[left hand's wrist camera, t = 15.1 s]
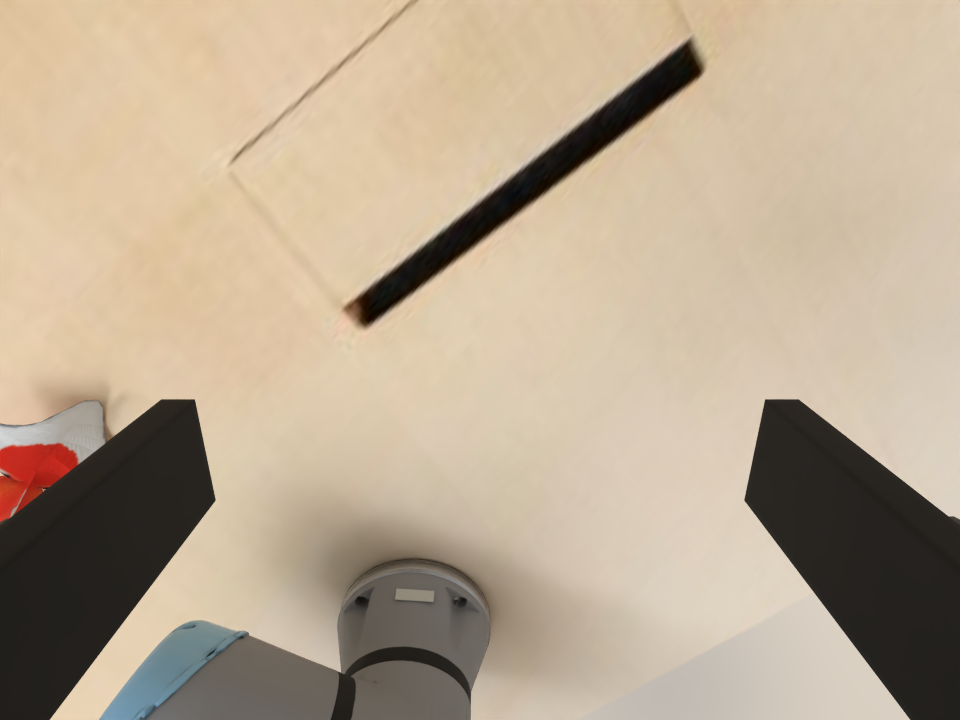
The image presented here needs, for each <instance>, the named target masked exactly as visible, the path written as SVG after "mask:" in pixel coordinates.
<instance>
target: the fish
mask: <svg viewBox="0 0 960 720" xmlns="http://www.w3.org/2000/svg"><path fill="white" fill-rule="evenodd" d="M106 442H107V441H106V435H105V430H104V412H103V407H102V404H101V403H100V402H99V400H86V401H83V402H81V403H79V404H76V405H74V406H72V407H70V408H68V409H66V410H64V411H62V412H60V413H58V414H56V415H54V416H52V417H50V418H48V419H46V420H44V421H42V422H40V423H34V424H28V425H5V424H0V472H1V473H2V474H3V475H5V476H0V522H1V521H3V520H5V519H7V518H10V517H12V516H13V515H14V514H15V513H17V512H18V511H19V510H21V509H22V508H23V507H24V506H26V505H27V504H28V503H30V502H31V501H32V500H33V499H35V498H36V497H37V496H38V495H40V494H41V493H42V492H43V490H42V489H47V488H49V487H50V486H51V485H53V484H54V483H55V482H56V481H58V480H59V479H60V478H62V477H63V476H64V475H65V474H67V473H68V472H69V471H71V470H72V469H73V468H74V467H76V466H77V465H78V464H79V463H81V462H82V461H83V460H85V459H86V458H87V457H88V456H90V455H91V454H92V453H94V452H95V451H96V450H97V449H99V448H100V447H101V446H103V445H104V444H105V443H106Z"/></svg>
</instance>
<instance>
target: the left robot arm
mask: <svg viewBox="0 0 960 720" xmlns="http://www.w3.org/2000/svg"><path fill="white" fill-rule="evenodd" d="M214 502H215V495H214V490H213V485H212V481H211V476H210V471H209V466H208V461H207V456H206V452H205V447H204V442H203V437H202V432H201V427H200V422H199V418H198V413H197V408H196V403H195V400H160V401H159V402H158V403H156V404H155V405H154V406H153V407H151V408H150V409H149V410H147V411H146V412H145V413H144V414H142V415H141V416H140V417H138V418H137V419H136V420H135V421H133V422H132V423H131V424H129V425H128V426H127V427H126V428H124V429H123V430H122V431H120V432H119V433H118V434H117V435H115V436H114V437H113V438H112V439H110V440H109V441H108V442H106V443H105V444H104V445H103V446H101V447H100V448H99V449H97V450H96V451H95V452H94V453H92V454H91V455H90V456H88V457H87V458H86V459H85V460H83V461H82V462H81V463H79V464H78V465H77V466H76V467H74V468H73V469H72V470H71V471H69V472H68V473H67V474H65V475H64V476H63V477H62V478H60V479H59V480H58V481H56V482H55V483H54V484H53V485H51V486H50V487H49V488H47V489H46V490H45V491H44V492H42V493H41V494H40V495H38V496H37V497H36V498H35V499H33V500H32V501H31V502H30V503H28V504H27V505H26V506H24V507H23V508H22V509H21V510H19V511H18V512H17V513H15V514H14V515H13V516H12V517H10V518H7V519H5V520H3V521H1V522H0V720H50V719H51V717H52V716H53V715H54V713H55V712H56V711H57V709H58V708H59V707H60V705H61V704H62V703H63V701H64V700H65V699H66V697H67V696H68V695H69V693H70V692H71V691H72V689H73V688H74V687H75V685H76V684H77V683H78V682H79V680H80V679H81V678H82V676H83V675H84V674H85V672H86V671H87V670H88V668H89V667H90V666H91V664H92V663H93V662H94V660H95V659H96V658H97V656H98V655H99V654H100V652H101V651H102V650H103V648H104V647H105V646H106V645H107V643H108V642H109V641H110V639H111V638H112V637H113V635H114V634H115V633H116V631H117V630H118V629H119V627H120V626H121V625H122V623H123V622H124V621H125V619H126V618H127V617H128V615H129V614H130V613H131V611H132V610H133V609H134V608H135V606H136V605H137V604H138V602H139V601H140V600H141V598H142V597H143V596H144V594H145V593H146V592H147V590H148V589H149V588H150V586H151V585H152V584H153V582H154V581H155V580H156V578H157V577H158V576H159V574H160V573H161V572H162V570H163V569H164V568H165V567H166V565H167V564H168V563H169V561H170V560H171V559H172V557H173V556H174V555H175V553H176V552H177V551H178V549H179V548H180V547H181V545H182V544H183V543H184V541H185V540H186V539H187V537H188V536H189V535H190V533H191V532H192V531H193V530H194V528H195V527H196V526H197V524H198V523H199V522H200V520H201V519H202V518H203V516H204V515H205V514H206V512H207V511H208V510H209V508H210V507H211V506H212V504H213V503H214ZM745 502H746V503H747V504H748V506H749V507H750V508H751V510H752V511H753V512H754V514H755V515H756V516H757V518H758V519H759V520H760V522H761V523H762V524H763V526H764V527H765V528H766V530H767V531H768V532H769V533H770V535H771V536H772V537H773V539H774V540H775V541H776V543H777V544H778V545H779V547H780V548H781V549H782V551H783V552H784V553H785V555H786V556H787V557H788V559H789V560H790V561H791V563H792V564H793V565H794V567H795V568H796V569H797V570H798V572H799V573H800V574H801V576H802V577H803V578H804V580H805V581H806V582H807V584H808V585H809V586H810V588H811V589H812V590H813V592H814V593H815V594H816V596H817V597H818V598H819V600H820V601H821V602H822V604H823V605H824V606H825V608H826V609H827V610H828V611H829V613H830V614H831V615H832V617H833V618H834V619H835V621H836V622H837V623H838V625H839V626H840V627H841V629H842V630H843V631H844V632H845V634H846V635H847V637H848V638H849V639H850V641H851V642H852V643H853V644H854V646H855V647H856V648H857V650H858V651H859V652H860V654H861V655H862V656H863V658H864V659H865V660H866V662H867V663H868V664H869V666H870V667H871V668H872V670H873V671H874V672H875V674H876V675H877V676H878V678H879V679H880V680H881V682H882V683H883V684H884V685H885V687H886V688H887V689H888V691H889V692H890V693H891V695H892V696H893V697H894V699H895V700H896V701H897V703H898V704H899V705H900V707H901V708H902V709H903V711H904V712H905V713H906V715H907V716H908V717H909V719H910V720H960V519H958V518H956V517H948V516H947V515H946V514H945V513H943V512H942V511H941V510H939V509H938V508H937V507H936V506H934V505H933V504H932V503H930V502H929V501H928V500H927V499H925V498H924V497H923V496H922V495H920V494H919V493H918V492H916V491H915V490H914V489H913V488H911V487H910V486H909V485H907V484H906V483H905V482H904V481H902V480H901V479H900V478H898V477H897V476H896V475H895V474H893V473H892V472H891V471H889V470H888V469H887V468H886V467H884V466H883V465H882V464H881V463H879V462H878V461H877V460H875V459H874V458H873V457H872V456H870V455H869V454H868V453H866V452H865V451H864V450H863V449H861V448H860V447H859V446H857V445H856V444H855V443H854V442H852V441H851V440H850V439H848V438H847V437H846V436H845V435H843V434H842V433H841V432H840V431H838V430H837V429H836V428H834V427H833V426H832V425H831V424H829V423H828V422H827V421H825V420H824V419H823V418H822V417H820V416H819V415H818V414H816V413H815V412H814V411H813V410H811V409H810V408H809V407H807V406H806V405H805V404H804V403H802V402H801V401H800V400H765V403H764V408H763V413H762V418H761V422H760V427H759V432H758V437H757V442H756V447H755V451H754V456H753V461H752V466H751V471H750V476H749V481H748V485H747V490H746V495H745ZM338 640H339V651H340V663H341V673H340V672H338V671H336V670H333V669H331V668H328V667H326V666H323V665H321V664H318V663H315V662H313V661H310V660H308V659H305V658H303V657H300V656H298V655H295V654H293V653H291V652H288V651H286V650H283V649H281V648H278V647H276V646H274V645H271V644H269V643H266V642H264V641H262V640H259V639H257V638H254V637H252V636H249V633H248V632H246V631H238V632H237V631H234V630H231V629H227V628H225V627H222V626H219V625H216V624H213V623H210V622H207V621H201V620H197V621H191V622H187V623H185V624H183V625H181V626H179V627H178V628H176V629H175V630H174V631H172V632H171V633H170V634H169V635H168V636H167V637H166V638H165V639H164V640H163V641H162V642H161V643H160V644H159V645H158V646H157V647H156V648H155V649H154V650H153V651H152V653H151V654H150V655H149V656H148V657H147V658H146V660H145V661H144V662H143V663H142V664H141V666H140V667H139V668H138V669H137V670H136V672H135V673H134V674H133V675H132V677H131V678H130V679H129V680H128V682H127V683H126V684H125V686H124V687H123V688H122V689H121V691H120V692H119V693H118V695H117V696H116V697H115V699H114V700H113V701H112V703H111V704H110V705H109V707H108V708H107V709H106V711H105V712H104V713H103V715H102V716H101V718H100V719H99V720H471V690H472V688H473V685H474V682H475V679H476V677H477V674H478V671H479V669H480V666H481V663H482V661H483V658H484V655H485V652H486V650H487V647H488V644H489V640H490V613H489V607H488V604H487V601H486V599H485V597H484V595H483V594H482V592H481V591H480V589H479V588H478V587H477V586H476V585H475V583H474V582H473V581H471V580H470V579H469V578H468V577H467V576H465V575H464V574H462V573H461V572H459V571H457V570H455V569H453V568H451V567H449V566H446V565H444V564H440V563H437V562H432V561H427V560H416V559H410V560H398V561H393V562H389V563H385V564H382V565H380V566H377V567H375V568H373V569H371V570H369V571H368V572H366V573H364V574H363V575H362V576H361V577H359V578H358V579H357V580H356V581H355V582H354V583H353V585H352V586H351V587H350V589H349V590H348V592H347V594H346V596H345V598H344V601H343V604H342V608H341V611H340V614H339V618H338Z"/></svg>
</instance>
